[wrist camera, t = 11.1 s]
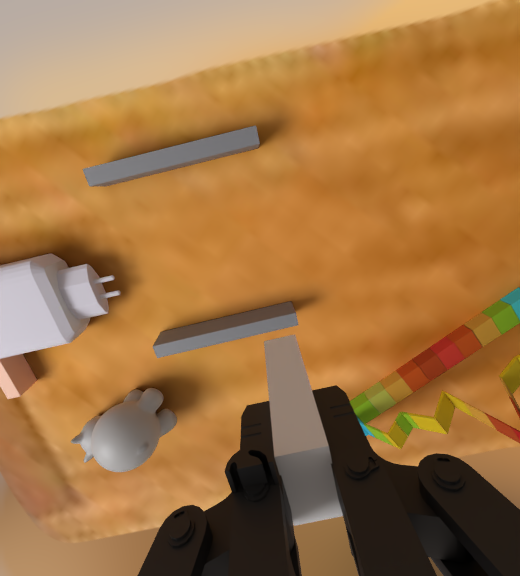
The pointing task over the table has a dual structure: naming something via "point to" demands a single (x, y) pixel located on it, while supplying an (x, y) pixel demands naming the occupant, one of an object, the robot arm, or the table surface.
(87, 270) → the charger
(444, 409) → the chart
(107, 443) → the chubby cartoon animal
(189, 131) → the table surface
